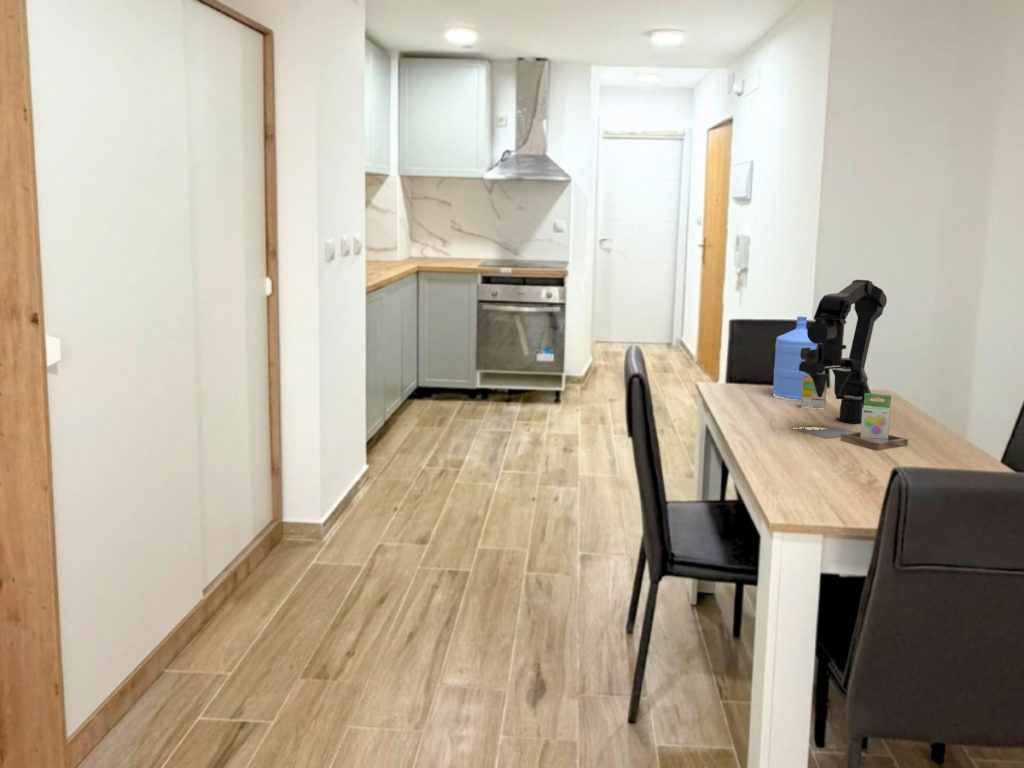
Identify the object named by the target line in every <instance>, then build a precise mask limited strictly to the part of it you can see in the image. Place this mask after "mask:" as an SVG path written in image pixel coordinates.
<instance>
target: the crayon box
mask: <svg viewBox="0 0 1024 768" xmlns="http://www.w3.org/2000/svg"><path fill="white" fill-rule="evenodd" d="M810 377H811V376H810V375H804V377H803V381H802V397H801V401H800V408H801V407H809V408H824V409H825V410H826V401H827V389H828V379H827V380H826V384H825V388H824V391H823V394H822V397H818V396H817V392H816V389H815V385H814V382H813V379H810Z"/></svg>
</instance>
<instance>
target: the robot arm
mask: <svg viewBox="0 0 1024 768" xmlns="http://www.w3.org/2000/svg"><path fill="white" fill-rule="evenodd" d="M887 300H888V299H887V295H886V294H885V291H884V290H883V289H881V288H880V287H878V286H877V285H875V284H874V283H873V282H872V281H871V280H869V279H855V280H852V282H851V283H850V284H849V285H847V286H846V287H845V288H843V289H842V290H840V291H839V292H836V293H828V294H825V295H823V296H822V298H821V299H820V301H819V303H818V306H817V307H816V308H817V309H816V311H815V314H814V315H813V320H814V323H812V324H811V325H809V327H808V329H807V330H808V331H807V335H808V338H809V340H810V341H811V342H813V343H815V344H818V345H817V349H815V350H810V348H802V349H801V354H800V355H801V359H802V360H805V361H802V362H801V363H800V364H799V371H802V372H806V374H809V375H810V376H811V377H812V379H813V382H814V385H815V389H816V392H817V396H818V397H822V394H823V391H824V388H825V384H826V380H827V381H828V376H829V373H825V372H826V371H825V370H831V371H832V373H833V375H834V386H833V387H834V389H833V391H834V395H835V399H836V400H841V401H840V402H841V403H840V405H839V416H838V417H835V419H836V420H838V421H841V422H846V423H850V424H855V423H861V422H862V409H863V406H864V398H865V393H871V390H870V387H869V384H868V380H869V379H868V375H867V372H866V371H865V365H866V362H867V357H868V353H869V352H868V351H869V348H870V344H871V339H872V336H873V335H872V334H873V330H874V325H875V322H876V321H877V320H878V319H879V318H880V317H881V316H882V315H883V312H884V309H885V307H886V305H887ZM853 305H854V307H853V309H854V312H855V314H856V317H857V320H856V323H855V330H854V334H853V337H852V338H853V339H852V343H851V347H850V352H849V357H843V350H846V349H847V345H846V344H844V336H845V334H844V333H845V325H846V324H847V317H848V315H849V313H851V310H852V306H853ZM871 394H872V393H871Z"/></svg>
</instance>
